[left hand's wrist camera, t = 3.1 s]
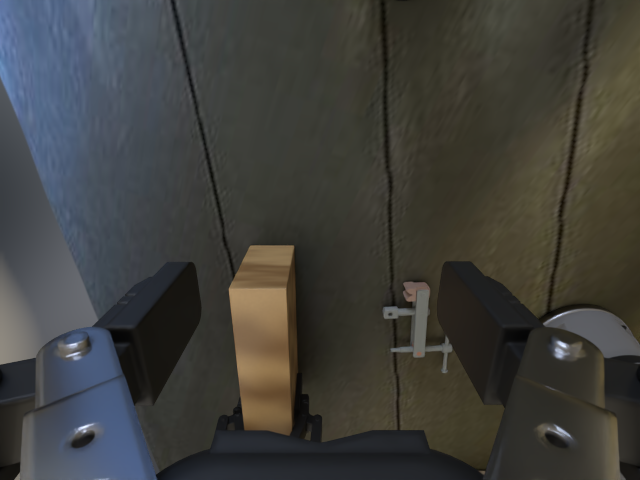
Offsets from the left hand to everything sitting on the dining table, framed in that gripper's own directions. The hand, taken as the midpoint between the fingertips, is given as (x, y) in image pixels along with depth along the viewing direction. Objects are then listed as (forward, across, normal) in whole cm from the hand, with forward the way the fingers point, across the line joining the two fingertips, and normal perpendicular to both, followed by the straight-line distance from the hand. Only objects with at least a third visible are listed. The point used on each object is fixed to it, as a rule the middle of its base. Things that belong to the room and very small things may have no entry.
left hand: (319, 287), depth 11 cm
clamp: (+32, +14, -25) cm, 43 cm away
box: (+32, -6, -24) cm, 41 cm away
